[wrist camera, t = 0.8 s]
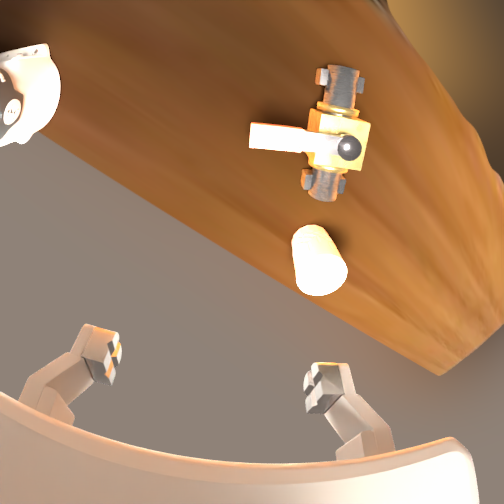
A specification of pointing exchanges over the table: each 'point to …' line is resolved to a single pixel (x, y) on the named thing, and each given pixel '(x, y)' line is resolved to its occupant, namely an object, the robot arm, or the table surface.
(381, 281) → the table surface
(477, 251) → the table surface
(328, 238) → the white cup
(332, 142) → the lever
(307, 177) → the valve
